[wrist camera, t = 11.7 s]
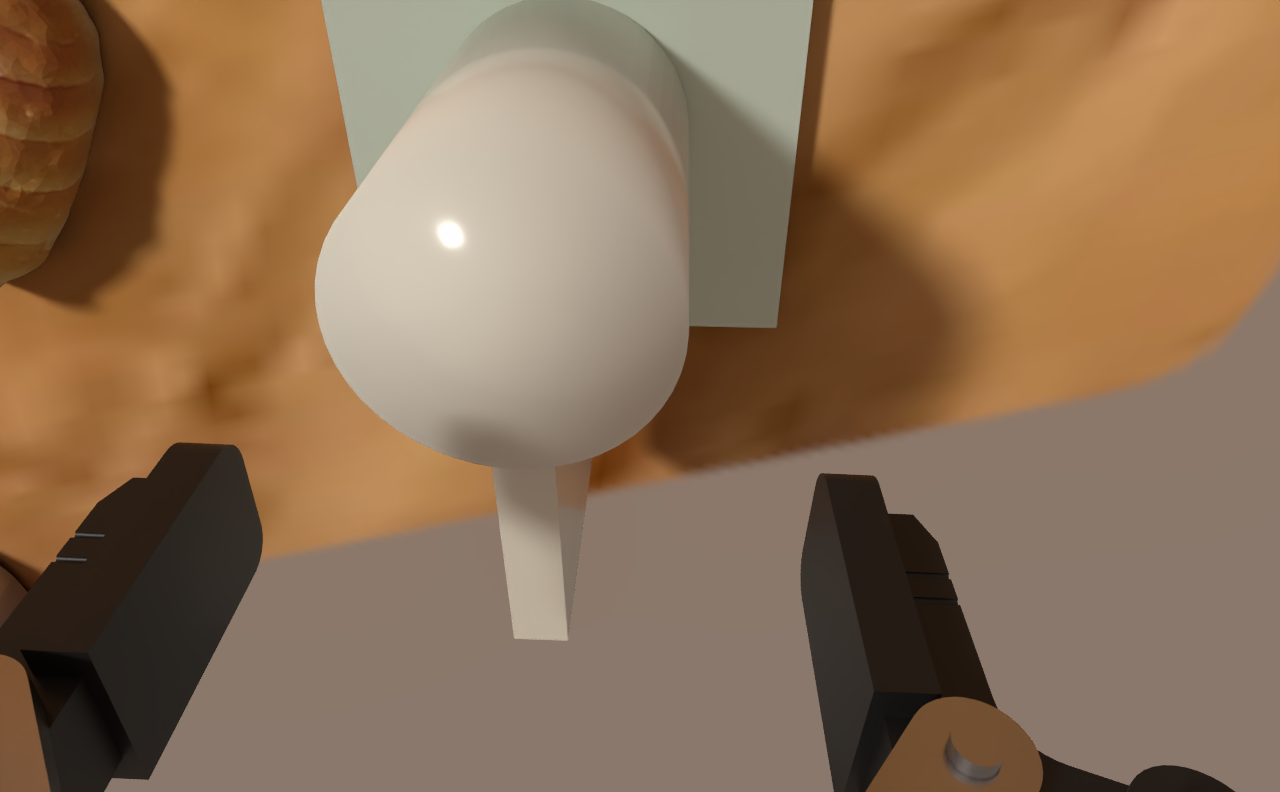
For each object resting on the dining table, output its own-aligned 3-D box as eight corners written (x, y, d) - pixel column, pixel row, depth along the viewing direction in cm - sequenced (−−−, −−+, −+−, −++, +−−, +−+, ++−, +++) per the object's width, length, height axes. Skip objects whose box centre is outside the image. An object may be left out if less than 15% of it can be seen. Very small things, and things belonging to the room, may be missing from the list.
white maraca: (424, -7, 20) (273, 145, 13) (694, -3, 20) (696, 153, 12) (479, 404, 27) (401, 652, 20) (679, 409, 27) (675, 663, 19)
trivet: (774, 316, 25) (776, 327, 25) (388, 308, 26) (382, 319, 25) (824, -133, 19) (828, -130, 18) (305, -138, 19) (295, -135, 19)
